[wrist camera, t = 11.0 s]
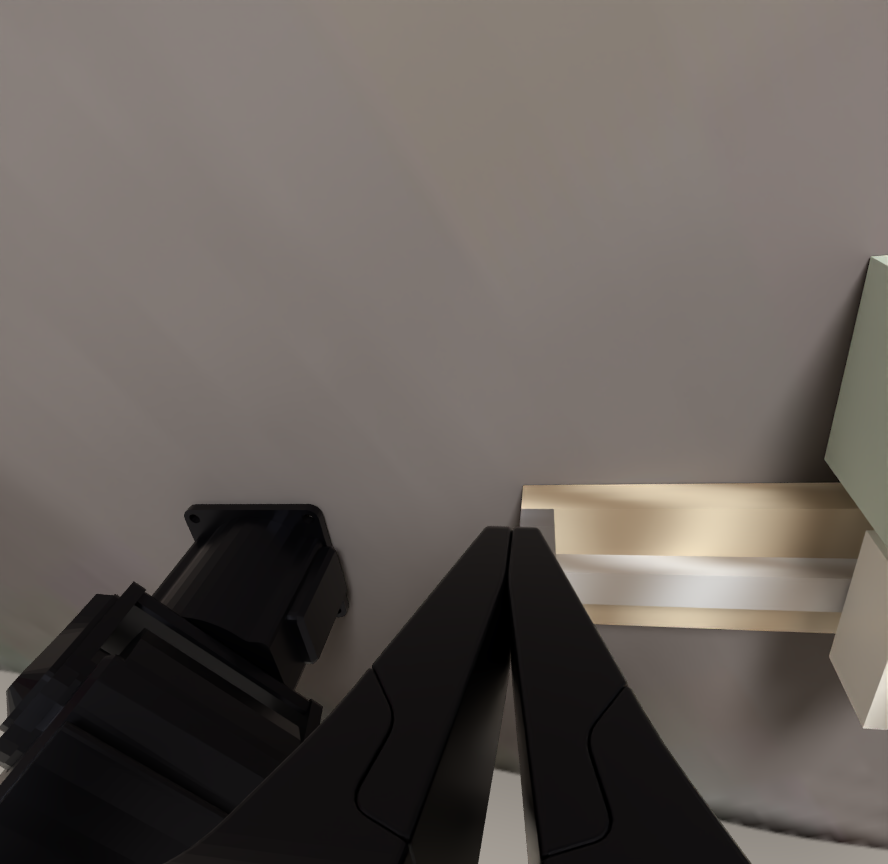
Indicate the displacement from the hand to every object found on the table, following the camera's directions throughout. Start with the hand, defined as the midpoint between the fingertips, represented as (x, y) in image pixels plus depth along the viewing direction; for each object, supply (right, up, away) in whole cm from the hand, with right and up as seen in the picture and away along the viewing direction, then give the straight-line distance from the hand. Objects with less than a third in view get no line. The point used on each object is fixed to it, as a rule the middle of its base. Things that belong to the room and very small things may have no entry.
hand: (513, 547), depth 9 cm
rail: (+11, -3, +13) cm, 18 cm away
